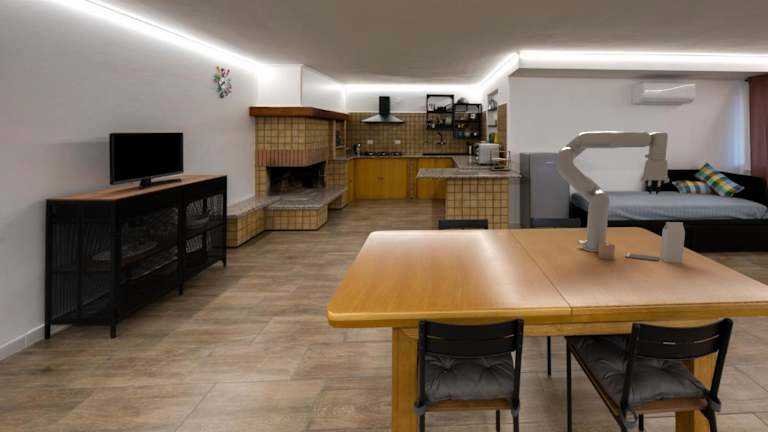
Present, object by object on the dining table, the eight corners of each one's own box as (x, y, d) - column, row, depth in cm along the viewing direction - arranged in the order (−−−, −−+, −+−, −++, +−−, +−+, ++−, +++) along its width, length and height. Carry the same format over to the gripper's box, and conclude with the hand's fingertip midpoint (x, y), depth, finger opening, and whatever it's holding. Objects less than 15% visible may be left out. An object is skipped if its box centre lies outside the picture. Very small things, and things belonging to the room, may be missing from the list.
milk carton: (682, 263, 213) (686, 223, 210) (665, 262, 215) (669, 223, 212) (675, 259, 220) (679, 221, 217) (659, 258, 222) (663, 220, 219)
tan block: (596, 258, 223) (597, 244, 222) (599, 255, 228) (600, 242, 227) (612, 260, 219) (613, 246, 218) (615, 257, 224) (616, 244, 223)
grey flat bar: (625, 257, 225) (625, 256, 225) (627, 254, 231) (627, 252, 231) (657, 261, 216) (657, 260, 216) (659, 258, 223) (659, 256, 223)
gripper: (637, 157, 226) (634, 193, 228) (675, 157, 216) (671, 195, 219) (639, 156, 231) (636, 192, 234) (676, 157, 222) (672, 194, 225)
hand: (653, 193), depth 227 cm, fingers closed
